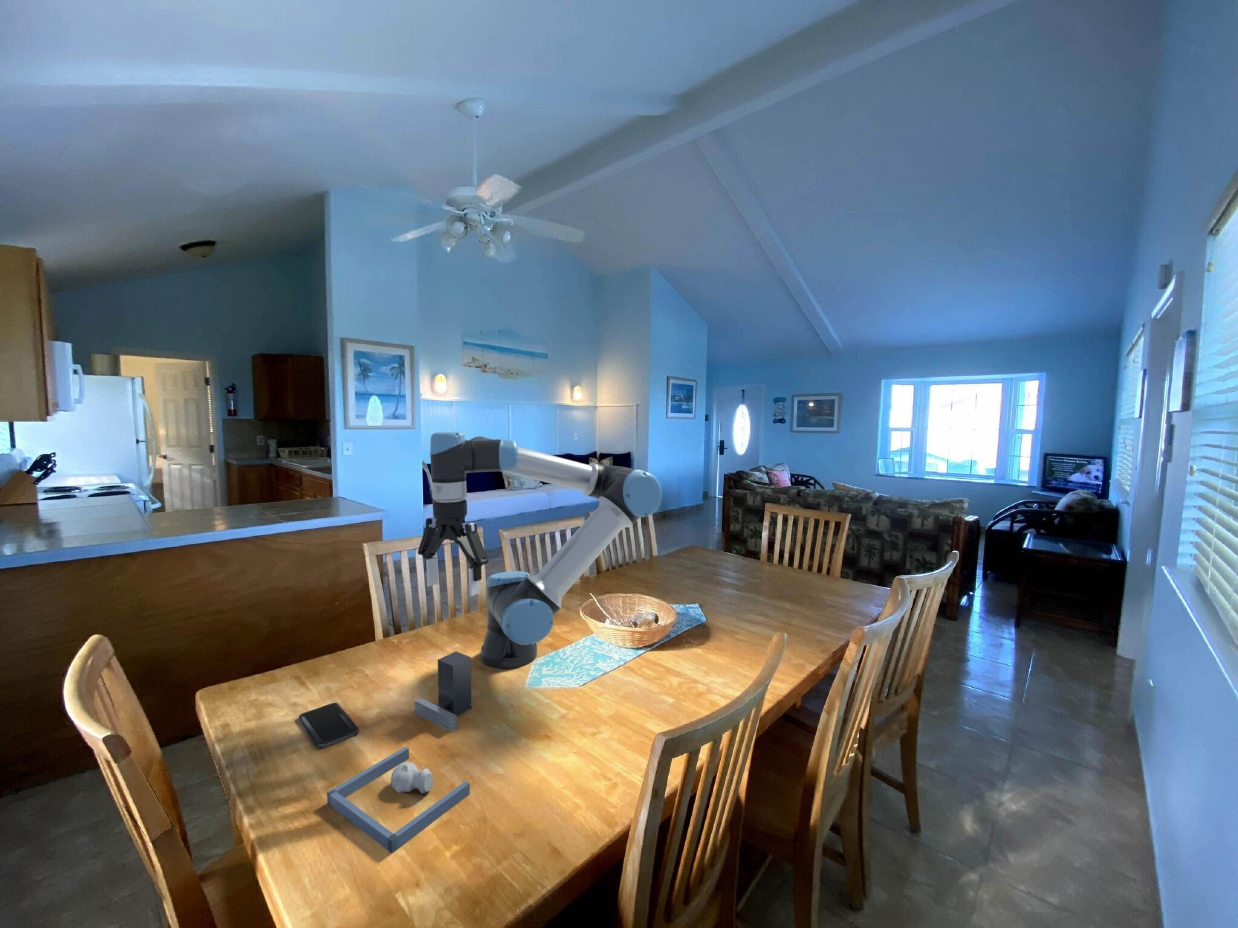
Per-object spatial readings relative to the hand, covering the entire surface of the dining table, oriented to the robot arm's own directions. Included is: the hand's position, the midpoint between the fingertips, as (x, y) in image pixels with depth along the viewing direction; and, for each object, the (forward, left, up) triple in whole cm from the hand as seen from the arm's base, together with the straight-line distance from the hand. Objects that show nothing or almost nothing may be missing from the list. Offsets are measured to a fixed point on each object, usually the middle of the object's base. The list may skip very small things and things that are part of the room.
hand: (453, 589), depth 122 cm
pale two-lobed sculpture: (+26, +20, -25) cm, 41 cm away
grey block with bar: (+7, +6, -25) cm, 27 cm away
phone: (+24, -11, -26) cm, 37 cm away
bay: (+28, +20, -25) cm, 43 cm away
